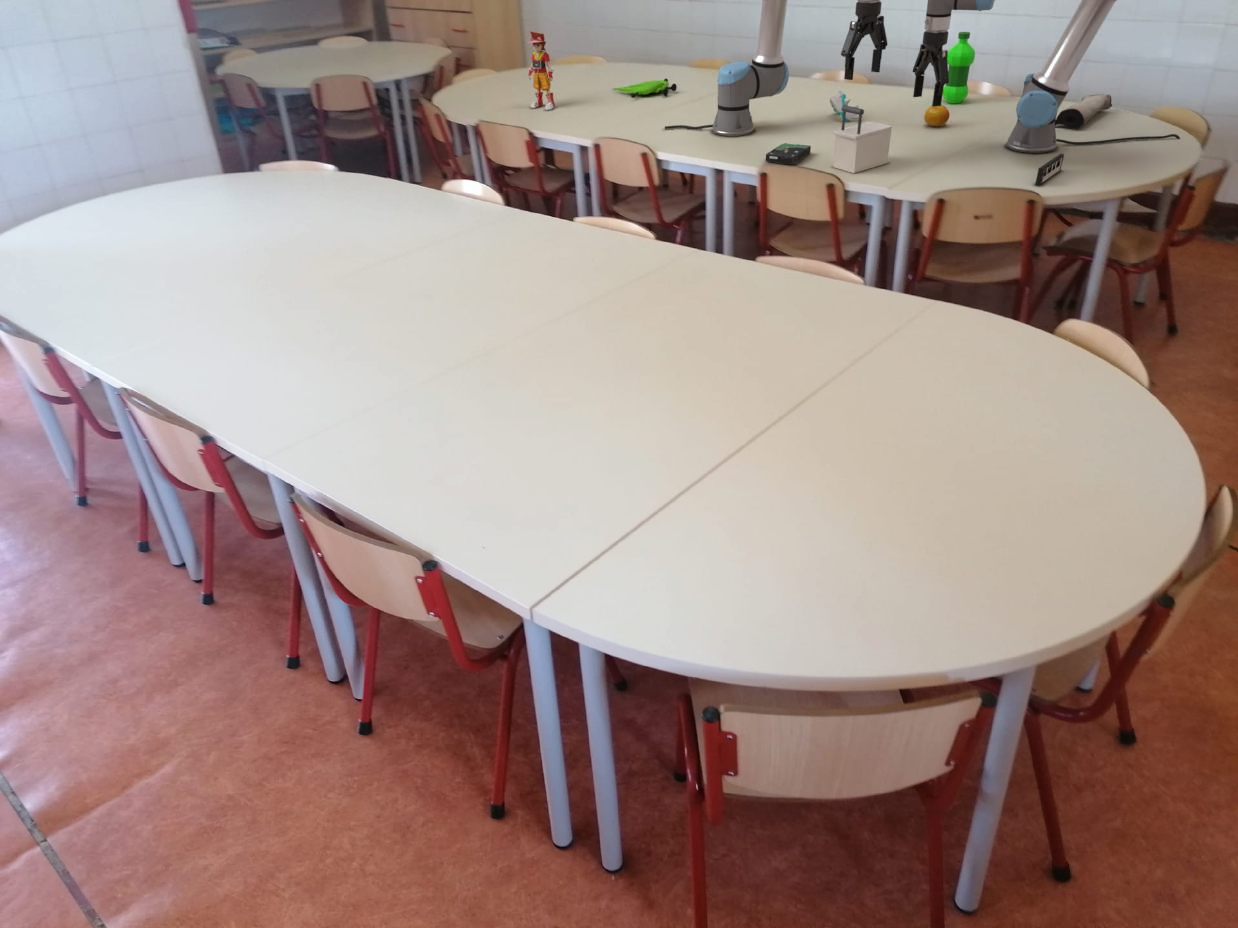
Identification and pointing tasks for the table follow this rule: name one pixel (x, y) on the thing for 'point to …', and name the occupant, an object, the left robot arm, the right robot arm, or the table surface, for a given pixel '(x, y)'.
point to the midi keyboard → (1049, 169)
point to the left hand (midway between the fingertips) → (862, 76)
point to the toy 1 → (541, 71)
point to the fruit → (936, 115)
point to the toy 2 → (648, 88)
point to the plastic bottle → (959, 69)
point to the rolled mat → (1083, 110)
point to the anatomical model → (839, 102)
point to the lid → (859, 125)
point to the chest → (861, 152)
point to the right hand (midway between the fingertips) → (926, 101)
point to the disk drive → (788, 153)
